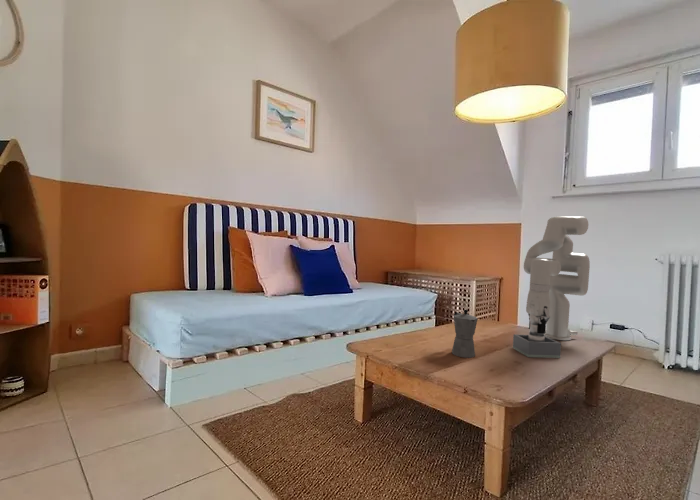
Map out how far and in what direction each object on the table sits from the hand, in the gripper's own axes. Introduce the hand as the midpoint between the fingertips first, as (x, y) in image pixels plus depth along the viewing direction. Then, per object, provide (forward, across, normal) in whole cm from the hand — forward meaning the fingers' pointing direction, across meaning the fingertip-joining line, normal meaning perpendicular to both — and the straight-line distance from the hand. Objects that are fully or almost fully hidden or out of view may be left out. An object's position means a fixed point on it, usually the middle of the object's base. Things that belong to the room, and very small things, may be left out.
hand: (536, 331), depth 156 cm
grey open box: (+9, 0, 0) cm, 9 cm away
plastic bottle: (+7, 0, 0) cm, 7 cm away
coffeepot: (+9, +4, -33) cm, 35 cm away
